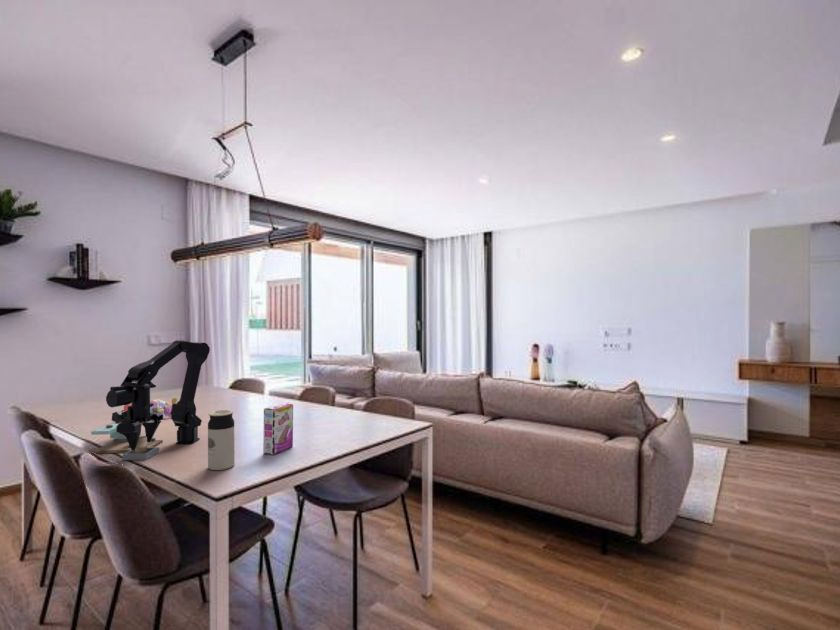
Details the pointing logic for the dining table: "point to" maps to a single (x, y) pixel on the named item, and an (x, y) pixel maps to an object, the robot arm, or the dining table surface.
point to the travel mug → (221, 440)
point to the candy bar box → (278, 428)
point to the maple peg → (141, 445)
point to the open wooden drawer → (122, 446)
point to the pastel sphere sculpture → (159, 407)
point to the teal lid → (108, 431)
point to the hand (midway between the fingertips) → (141, 446)
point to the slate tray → (141, 454)
